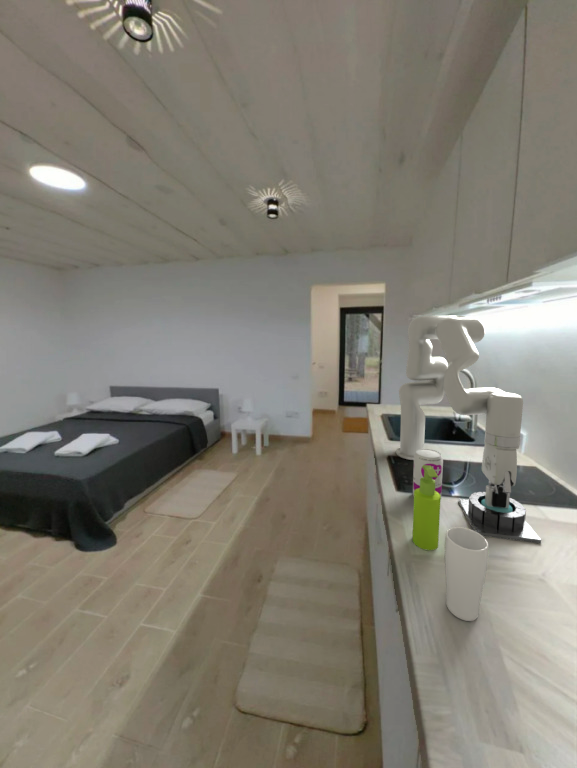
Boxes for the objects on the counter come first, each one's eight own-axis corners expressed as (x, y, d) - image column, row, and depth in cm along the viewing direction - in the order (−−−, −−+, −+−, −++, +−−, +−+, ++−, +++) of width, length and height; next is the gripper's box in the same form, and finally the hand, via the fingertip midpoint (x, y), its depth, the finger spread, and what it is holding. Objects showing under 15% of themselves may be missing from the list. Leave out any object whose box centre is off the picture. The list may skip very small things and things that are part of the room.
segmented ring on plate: (458, 501, 92) (459, 486, 91) (511, 507, 88) (512, 491, 88) (476, 535, 77) (477, 517, 76) (540, 543, 73) (542, 524, 72)
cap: (477, 503, 86) (478, 480, 85) (505, 506, 84) (507, 483, 83) (486, 517, 80) (488, 493, 79) (516, 521, 78) (519, 496, 77)
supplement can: (444, 506, 90) (446, 459, 88) (415, 503, 92) (417, 457, 89) (436, 492, 98) (439, 448, 96) (410, 490, 100) (411, 447, 97)
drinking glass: (448, 624, 54) (453, 549, 51) (437, 592, 60) (440, 524, 58) (490, 629, 53) (496, 553, 50) (473, 596, 59) (478, 527, 57)
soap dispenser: (417, 552, 71) (420, 474, 68) (409, 533, 78) (412, 461, 75) (443, 554, 71) (447, 475, 68) (433, 535, 77) (437, 462, 74)
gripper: (475, 429, 87) (471, 488, 90) (497, 449, 72) (492, 519, 75) (505, 431, 85) (500, 491, 88) (534, 451, 70) (527, 523, 73)
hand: (496, 503), depth 82 cm, fingers closed on cap
